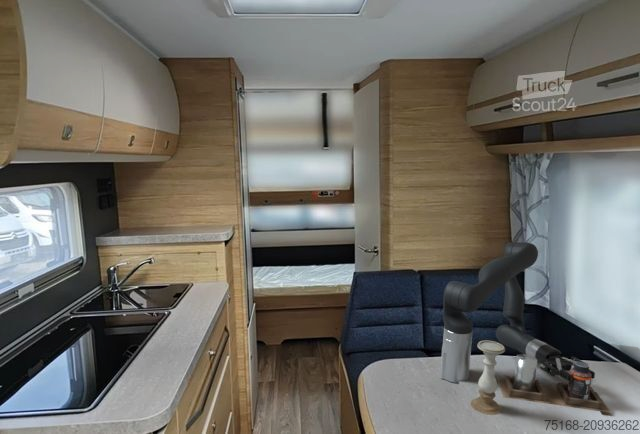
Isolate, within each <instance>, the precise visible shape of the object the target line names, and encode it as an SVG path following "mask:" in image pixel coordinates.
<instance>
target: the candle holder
mask: <svg viewBox="0 0 640 434" xmlns="http://www.w3.org/2000/svg"><path fill="white" fill-rule="evenodd" d="M476 346H477V348H478V349H479V350H480V351H482V352H483V354H484V358H483V360H482V362H483V363H484V366H483V372H482V374H481V376H480V377H479V379H478V382H477V384H478V388H479V389H478V394H479V396H478V397H476V398H473V399H472V400H471V401H470V407H471V408H472V409H474V411H477V412H479V413H480V414H484V415H487V416H488V415H489V416H494V415H495V416H496V415H498V414H501V413H502V407H501V406H500V405H499V404H498V402H497V401H496V400H494V399H495V398H496V393H495V392H496V391H497V389H498V387H499V385H498V380H497V379H496V375H495V366H497V361H496V357H498V356H499V355H501V354H503V353H505V352H506V347H505V345H504V344H502V343H501V342H497V341H494V340H481V341H478V343H477V345H476Z"/></svg>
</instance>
